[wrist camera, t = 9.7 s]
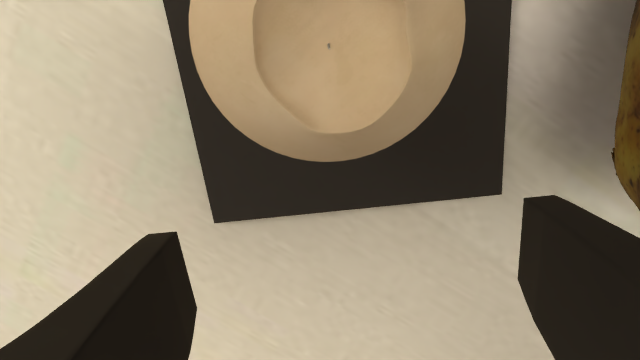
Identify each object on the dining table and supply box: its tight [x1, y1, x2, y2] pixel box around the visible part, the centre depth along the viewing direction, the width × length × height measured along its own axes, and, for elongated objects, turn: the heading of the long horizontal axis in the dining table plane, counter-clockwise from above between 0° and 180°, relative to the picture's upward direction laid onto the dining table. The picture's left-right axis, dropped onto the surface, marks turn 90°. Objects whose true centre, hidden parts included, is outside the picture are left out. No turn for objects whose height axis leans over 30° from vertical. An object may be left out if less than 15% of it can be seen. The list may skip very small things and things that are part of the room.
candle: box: [189, 0, 466, 162], centre depth 14 cm, size 6×6×10 cm
